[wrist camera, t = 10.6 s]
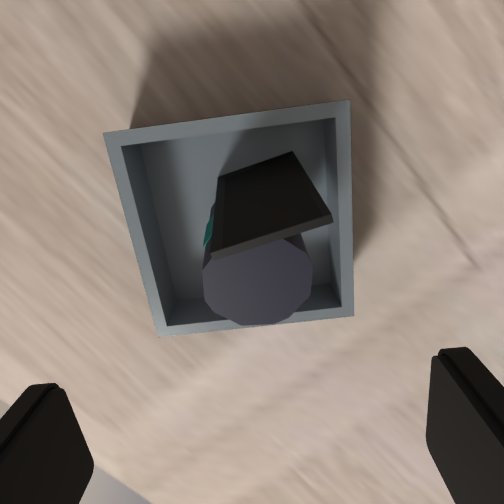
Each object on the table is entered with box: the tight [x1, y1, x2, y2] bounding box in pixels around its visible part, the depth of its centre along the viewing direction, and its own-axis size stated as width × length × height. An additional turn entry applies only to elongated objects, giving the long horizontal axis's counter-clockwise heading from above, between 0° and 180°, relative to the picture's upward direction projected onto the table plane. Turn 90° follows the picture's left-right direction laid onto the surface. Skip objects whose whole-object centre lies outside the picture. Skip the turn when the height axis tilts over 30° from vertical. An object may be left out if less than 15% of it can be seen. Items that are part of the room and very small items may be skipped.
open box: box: [103, 100, 354, 337], centre depth 24 cm, size 14×14×4 cm
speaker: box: [202, 151, 334, 326], centre depth 20 cm, size 8×6×10 cm
